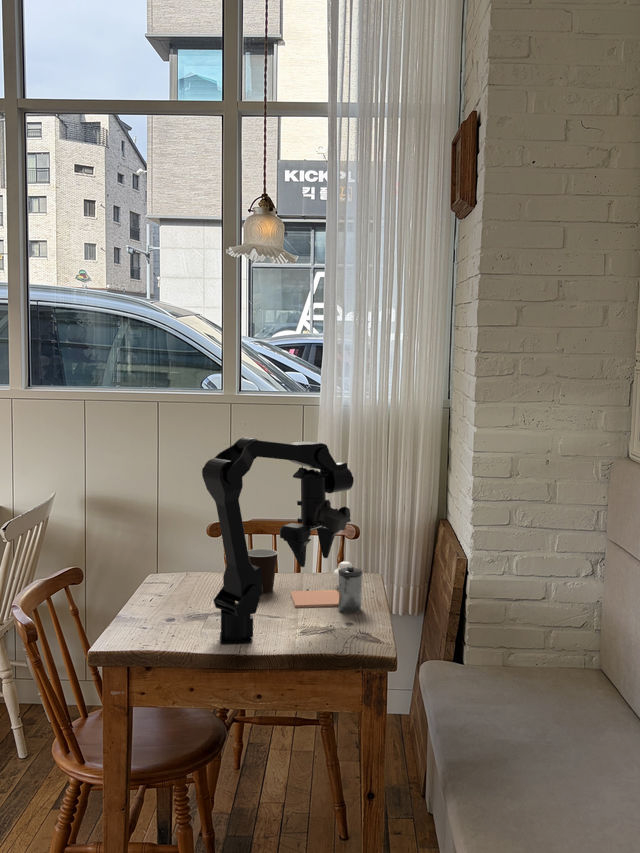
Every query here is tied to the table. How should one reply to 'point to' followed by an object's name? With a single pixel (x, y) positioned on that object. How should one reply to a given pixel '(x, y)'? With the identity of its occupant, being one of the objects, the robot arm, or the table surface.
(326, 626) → the table surface
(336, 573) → the muffin
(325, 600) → the plate
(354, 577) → the press pot
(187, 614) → the table surface
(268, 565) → the coffee mug
